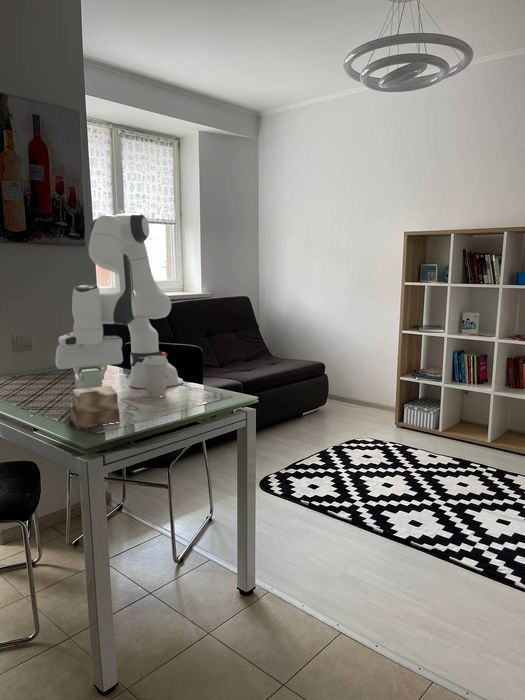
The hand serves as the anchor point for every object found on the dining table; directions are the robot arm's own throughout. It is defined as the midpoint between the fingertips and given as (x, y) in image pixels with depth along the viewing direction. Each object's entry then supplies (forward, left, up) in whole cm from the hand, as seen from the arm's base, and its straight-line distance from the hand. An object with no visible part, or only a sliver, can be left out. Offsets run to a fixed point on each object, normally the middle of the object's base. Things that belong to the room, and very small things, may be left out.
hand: (91, 380), depth 164 cm
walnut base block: (0, 0, -14) cm, 14 cm away
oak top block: (-1, 0, -9) cm, 9 cm away
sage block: (0, 0, -2) cm, 2 cm away
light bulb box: (-2, -22, -14) cm, 26 cm away
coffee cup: (-28, -22, -14) cm, 38 cm away
